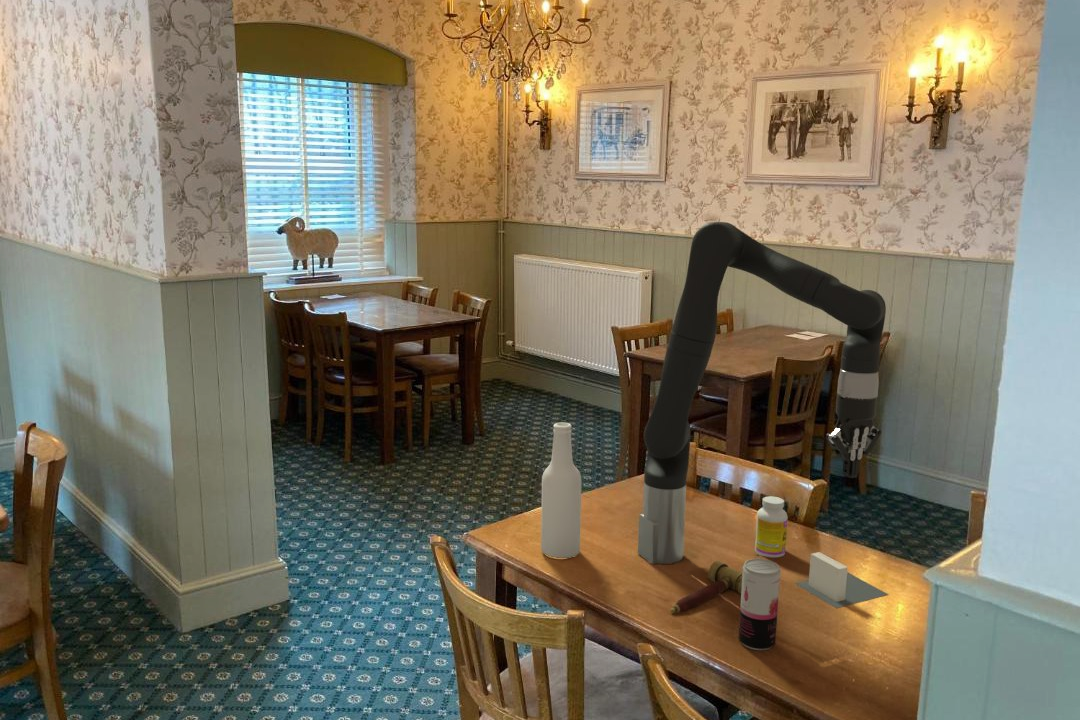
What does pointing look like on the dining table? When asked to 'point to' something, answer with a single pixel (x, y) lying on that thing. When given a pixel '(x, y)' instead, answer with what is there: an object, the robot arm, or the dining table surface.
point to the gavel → (711, 587)
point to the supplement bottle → (771, 528)
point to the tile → (827, 576)
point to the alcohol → (561, 499)
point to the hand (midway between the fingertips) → (850, 476)
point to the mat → (848, 592)
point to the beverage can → (759, 604)
